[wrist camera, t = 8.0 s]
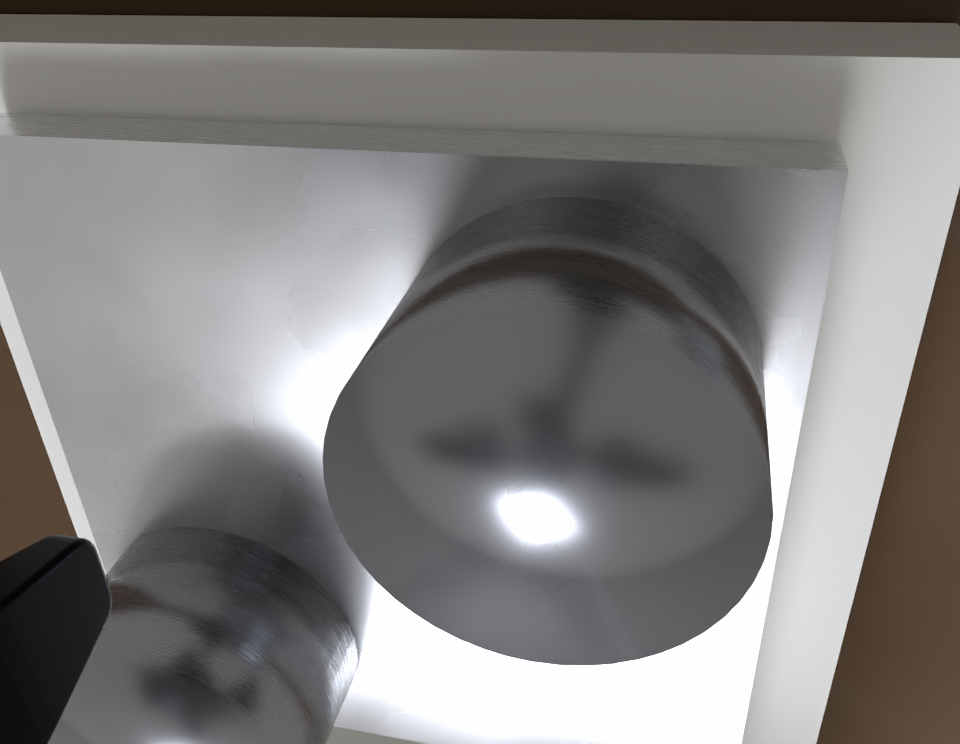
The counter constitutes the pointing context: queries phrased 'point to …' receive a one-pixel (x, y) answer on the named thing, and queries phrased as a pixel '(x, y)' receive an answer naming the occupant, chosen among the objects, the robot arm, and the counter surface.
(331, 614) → the spacer on pan
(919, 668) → the counter surface
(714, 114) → the scale
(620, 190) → the pan
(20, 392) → the counter surface
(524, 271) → the steel cup
